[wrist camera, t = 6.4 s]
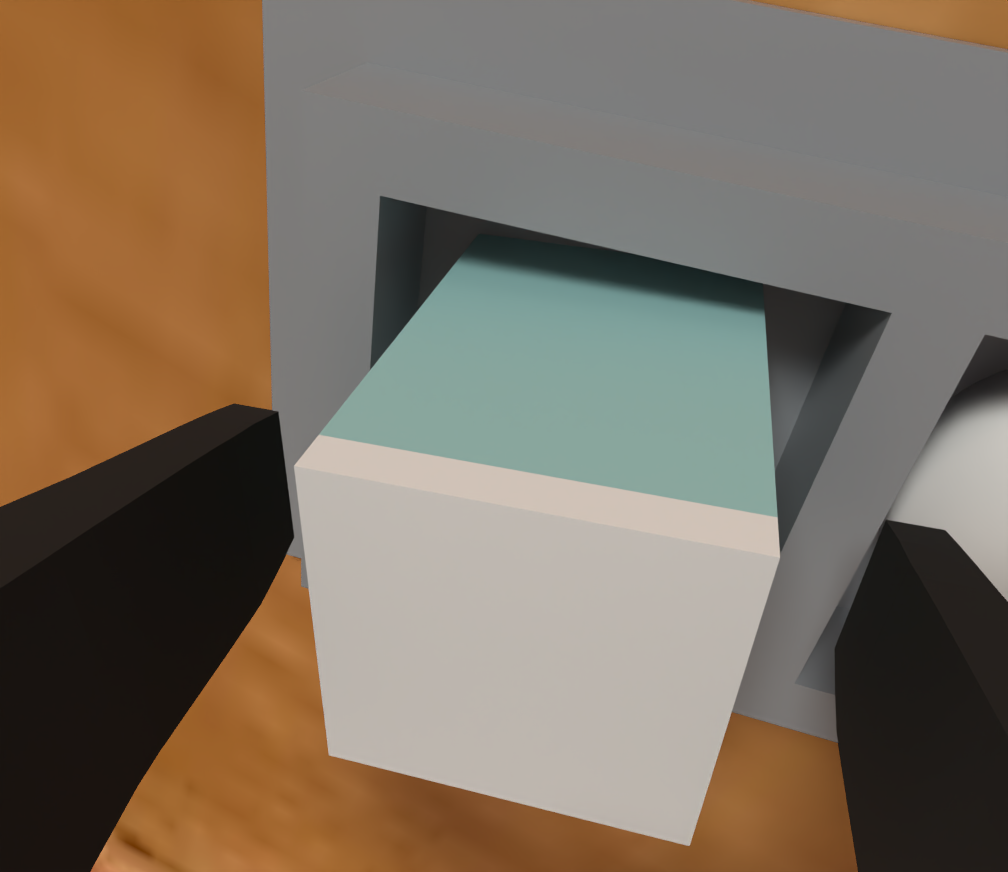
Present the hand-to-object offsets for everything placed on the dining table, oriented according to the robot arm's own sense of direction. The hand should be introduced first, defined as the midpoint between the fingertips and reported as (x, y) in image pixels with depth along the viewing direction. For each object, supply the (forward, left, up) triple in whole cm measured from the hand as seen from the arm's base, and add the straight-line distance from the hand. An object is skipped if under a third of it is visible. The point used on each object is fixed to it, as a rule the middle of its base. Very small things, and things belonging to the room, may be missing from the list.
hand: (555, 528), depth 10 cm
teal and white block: (0, 0, -3) cm, 4 cm away
